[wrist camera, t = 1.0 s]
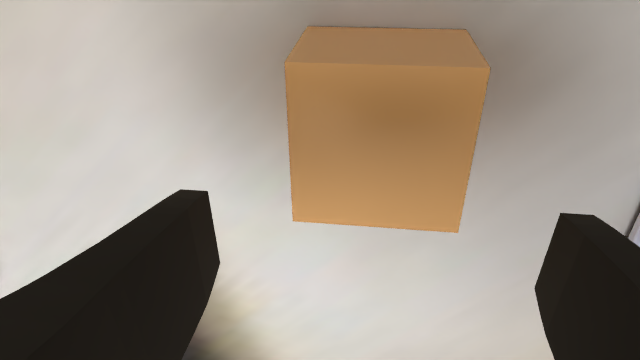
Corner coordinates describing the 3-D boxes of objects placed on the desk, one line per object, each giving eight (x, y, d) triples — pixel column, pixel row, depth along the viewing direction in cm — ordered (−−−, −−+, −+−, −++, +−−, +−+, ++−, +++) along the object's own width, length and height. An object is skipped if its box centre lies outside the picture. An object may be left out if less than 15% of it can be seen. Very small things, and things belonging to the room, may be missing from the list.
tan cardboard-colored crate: (466, 29, 14) (490, 67, 11) (443, 168, 17) (457, 232, 14) (307, 26, 15) (284, 61, 12) (310, 160, 18) (292, 221, 14)
